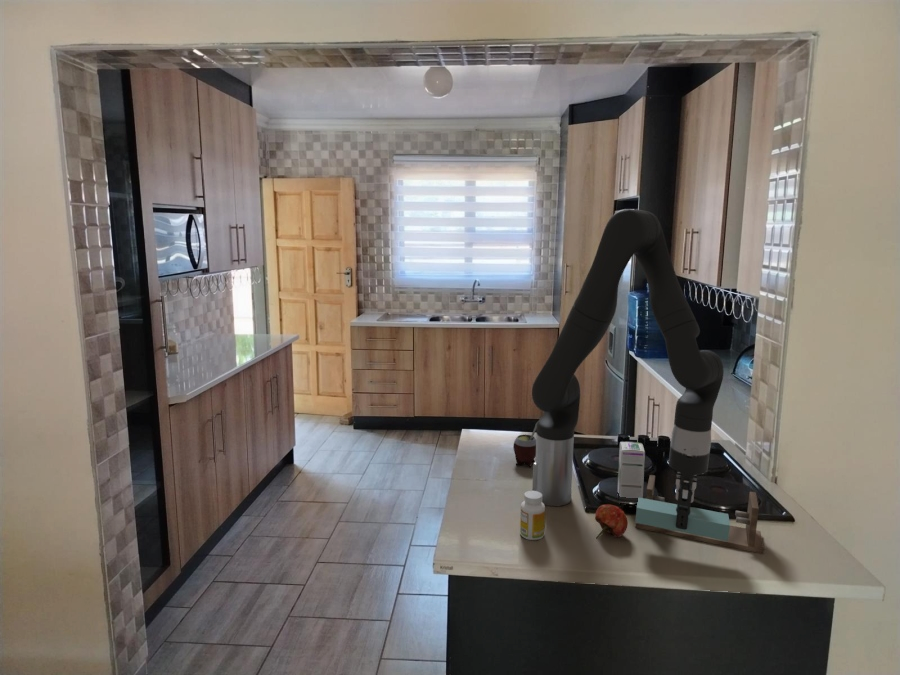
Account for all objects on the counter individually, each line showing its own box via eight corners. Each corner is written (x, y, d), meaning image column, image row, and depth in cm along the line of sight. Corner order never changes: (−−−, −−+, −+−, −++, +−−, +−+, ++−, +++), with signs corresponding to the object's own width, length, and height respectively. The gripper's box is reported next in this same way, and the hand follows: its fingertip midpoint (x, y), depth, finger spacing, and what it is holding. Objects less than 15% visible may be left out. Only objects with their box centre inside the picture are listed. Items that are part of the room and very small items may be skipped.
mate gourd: (508, 461, 168) (509, 412, 165) (531, 456, 171) (532, 409, 168) (522, 470, 161) (523, 420, 158) (545, 466, 164) (547, 416, 162)
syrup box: (642, 506, 141) (646, 451, 138) (617, 503, 142) (621, 449, 139) (639, 495, 147) (643, 442, 144) (616, 493, 148) (619, 440, 145)
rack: (635, 527, 131) (638, 487, 129) (639, 511, 138) (641, 473, 136) (763, 553, 121) (768, 510, 119) (760, 535, 128) (764, 494, 126)
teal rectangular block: (635, 522, 122) (636, 507, 121) (636, 511, 126) (638, 497, 126) (727, 541, 115) (730, 525, 115) (726, 529, 120) (728, 513, 119)
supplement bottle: (546, 530, 130) (547, 491, 128) (541, 542, 125) (543, 501, 123) (522, 526, 132) (523, 487, 130) (517, 538, 127) (518, 498, 125)
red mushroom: (613, 555, 124) (644, 523, 126) (595, 533, 122) (626, 500, 124) (594, 541, 131) (624, 510, 133) (577, 520, 129) (607, 489, 131)
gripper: (672, 432, 125) (665, 502, 129) (668, 456, 112) (660, 534, 116) (709, 437, 122) (701, 510, 126) (710, 463, 109) (700, 543, 113)
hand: (681, 521), depth 121 cm, fingers closed on teal rectangular block, 5 cm apart
